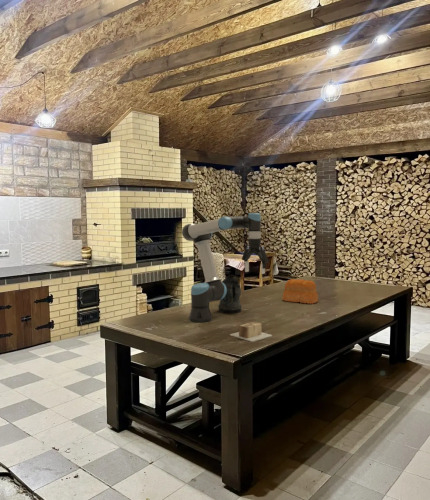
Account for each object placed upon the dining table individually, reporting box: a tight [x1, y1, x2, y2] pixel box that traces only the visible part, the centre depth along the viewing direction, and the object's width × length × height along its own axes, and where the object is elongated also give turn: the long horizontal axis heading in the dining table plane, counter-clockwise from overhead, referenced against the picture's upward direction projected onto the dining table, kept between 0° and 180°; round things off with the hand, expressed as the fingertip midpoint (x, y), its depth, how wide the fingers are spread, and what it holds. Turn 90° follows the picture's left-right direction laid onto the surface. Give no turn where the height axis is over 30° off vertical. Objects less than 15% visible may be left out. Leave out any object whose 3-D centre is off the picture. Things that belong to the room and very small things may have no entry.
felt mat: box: [229, 331, 273, 343], centre depth 249 cm, size 18×16×1 cm
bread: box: [282, 278, 319, 305], centre depth 343 cm, size 16×26×17 cm, turn 56°
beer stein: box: [218, 275, 242, 314], centre depth 311 cm, size 16×19×25 cm
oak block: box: [238, 321, 262, 338], centre depth 249 cm, size 6×6×12 cm
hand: (254, 272), depth 270 cm, fingers open, 13 cm apart
